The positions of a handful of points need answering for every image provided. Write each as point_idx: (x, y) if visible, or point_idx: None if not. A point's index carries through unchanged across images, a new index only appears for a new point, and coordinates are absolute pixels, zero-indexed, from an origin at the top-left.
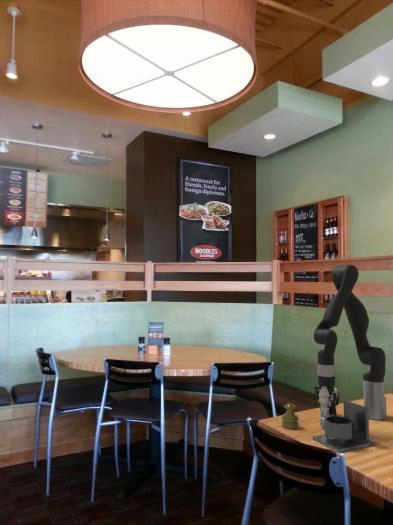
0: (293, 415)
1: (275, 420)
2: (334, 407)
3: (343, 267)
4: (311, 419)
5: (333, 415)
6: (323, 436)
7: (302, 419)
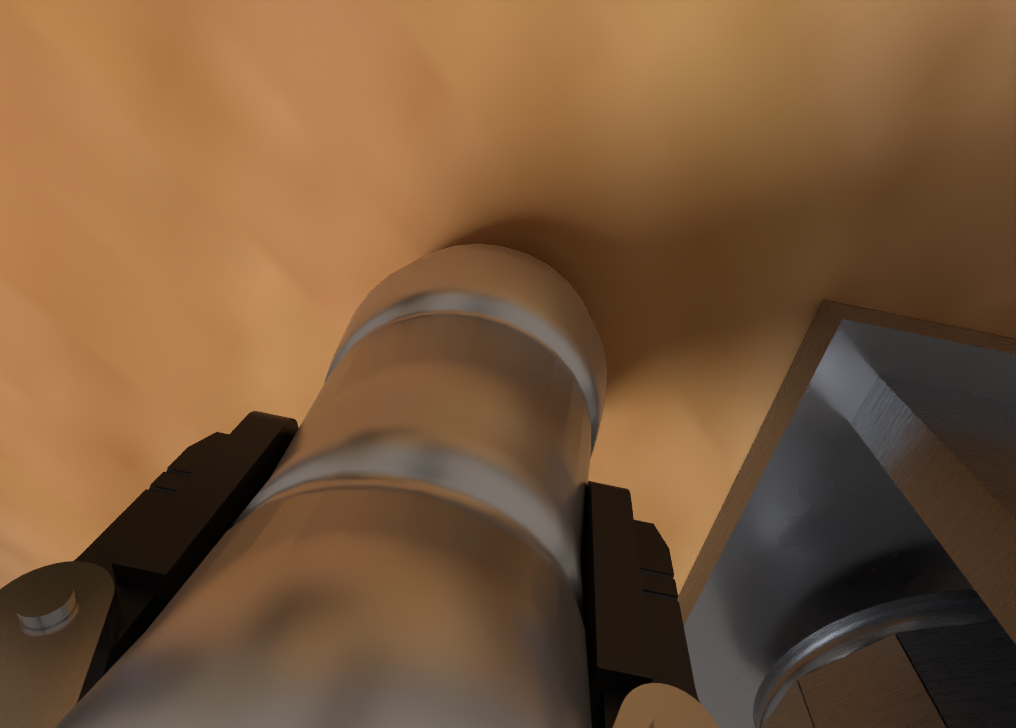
0: None
1: (18, 568)
2: (693, 685)
3: None
4: (75, 223)
5: (587, 442)
6: (714, 677)
7: (45, 330)
